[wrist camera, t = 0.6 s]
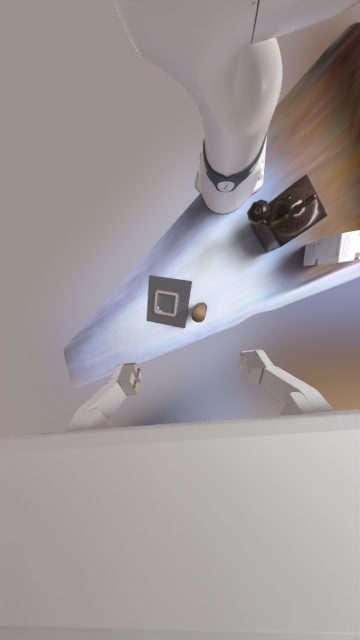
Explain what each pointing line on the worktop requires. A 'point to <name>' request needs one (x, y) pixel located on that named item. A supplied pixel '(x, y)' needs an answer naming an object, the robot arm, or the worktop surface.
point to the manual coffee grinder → (286, 215)
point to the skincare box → (333, 249)
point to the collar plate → (168, 300)
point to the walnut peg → (199, 312)
